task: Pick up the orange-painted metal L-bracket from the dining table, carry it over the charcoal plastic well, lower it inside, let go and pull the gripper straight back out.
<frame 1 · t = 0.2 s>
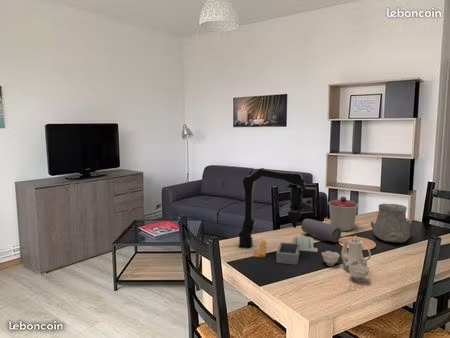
hand: (295, 225, 179), 14 cm above the table, tool pointing down, fingers open, 9 cm apart
metal bracket: (302, 247, 187), on the table
bluetooth speaker: (320, 238, 199), on the table
well: (288, 257, 171), on the table
l bracket: (263, 255, 175), on the table
canister: (342, 229, 216), on the table
chinaware: (349, 270, 156), on the table
vessel: (390, 240, 195), on the table
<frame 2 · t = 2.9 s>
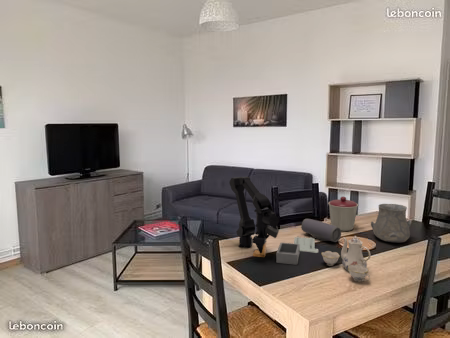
hand: (261, 251, 175), 2 cm above the table, tool pointing down, fingers closed on l bracket, 5 cm apart
metal bracket: (304, 248, 186), on the table
l bracket: (263, 255, 175), on the table, touching gripper
everything else where it was.
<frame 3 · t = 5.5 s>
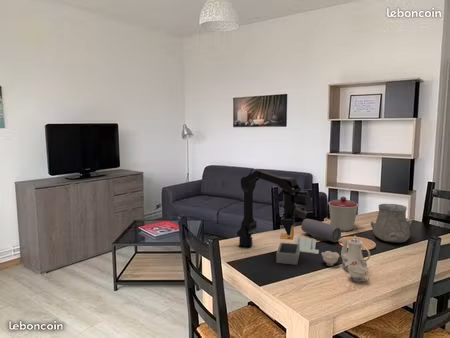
hand: (289, 233, 169), 13 cm above the table, tool pointing down, fingers closed on l bracket, 5 cm apart
metal bracket: (304, 249, 185), on the table
l bracket: (290, 237, 169), point 11 cm above the table, touching gripper
everything else where it was.
when the fingers open (4 cm above the table, at t = 8.1 s): l bracket drops 1 cm, resting on well.
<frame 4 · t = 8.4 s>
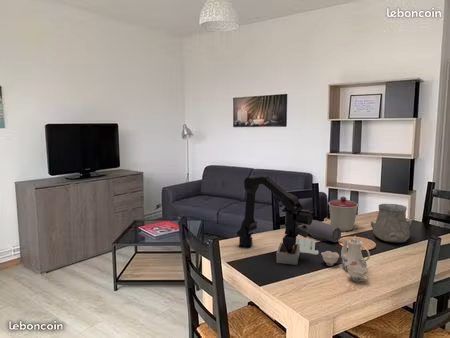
hand: (290, 251, 171), 4 cm above the table, tool pointing down, fingers open, 9 cm apart
metal bracket: (304, 249, 184), on the table
l bracket: (291, 257, 171), resting on well
everything else where it was.
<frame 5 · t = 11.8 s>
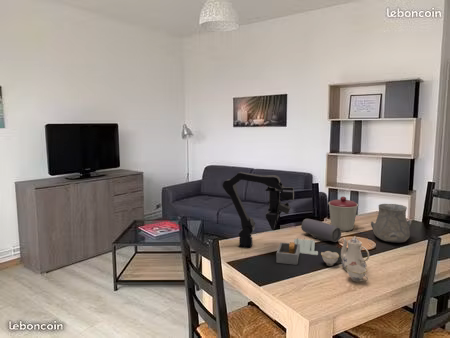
hand: (274, 227, 183), 12 cm above the table, tool pointing down, fingers open, 9 cm apart
metal bracket: (303, 250, 183), on the table
everything else where it was.
at the end: l bracket inside the target area on the well (0.7 cm from its centre), point 0.4 cm above the well's base; l bracket tilted 0°; the gripper is holding nothing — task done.
